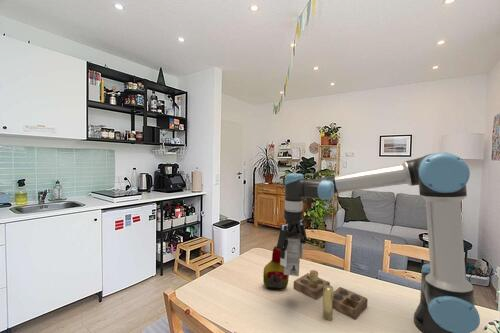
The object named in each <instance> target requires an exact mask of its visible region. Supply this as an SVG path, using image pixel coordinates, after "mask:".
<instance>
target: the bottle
mask: <svg viewBox="0 0 500 333" xmlns="http://www.w3.org/2000/svg"><path fill="white" fill-rule="evenodd" d="M276 247H277V245H276V246H274V247H273V248H272V249H273V250H272V256H271V260H270V261H269V262H268V263H267V264H266V265H265V266H264V267H263V275H262V276H263V284H264V286H265V287H266V288H267V289H269V290H276V291H282V290H285V289H286V288H287V287H288V285H289V277H290V275H284V266H282V265H280V250H278V249H277V248H276ZM279 247H280V246H279Z"/></svg>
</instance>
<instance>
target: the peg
mask: <svg viewBox="0 0 500 333" xmlns="http://www.w3.org/2000/svg"><path fill="white" fill-rule="evenodd" d="M333 292H334V287H333V286H332V285H330V286H329V285H324V286H323V295H322V304H323V305H322V318H323V319H324V321H328V322H331V321H332V320H333V318H334V317H333V313H334V312H333V310H334V309H333Z"/></svg>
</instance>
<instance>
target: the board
mask: <svg viewBox="0 0 500 333" xmlns="http://www.w3.org/2000/svg"><path fill="white" fill-rule="evenodd" d="M324 285H329V286H331V282H330V281H327V280H326V279H323V278H320V277H319V272H318V271H317V270H314V269H313V270H310V271H309V272H307V273H305V274H304V275H302V276H300V277H299V278H297V279H295V280H294V281H293V289H294V290H296V291H298V292H299V293H302V294H304V295H305V296H307V297H310V298H312V299H314V300H315V301H317V300H319V299H320V298H321V297H323V286H324Z"/></svg>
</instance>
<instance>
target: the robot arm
mask: <svg viewBox="0 0 500 333" xmlns="http://www.w3.org/2000/svg"><path fill="white" fill-rule="evenodd" d="M284 177H285V178H284V179H285V180H284V211H283V214H284V215H283V218H284V219H285V224H280V229H279V230H280V231H279V234H278V239H277V244H276V246H277V247H276V248H277V249H278V250H280V265H282V266H285V267H286V266H287V250H286V248H287V245H288V239H287V240H285V238H286V236H288V237H289V236H292V235H293V233H294V232H298V233H300V260H302V259H303V258H304V245H305V244H307V240H308V237H307V232H306V227H305V222H306V221H305V220H304V219H303V208H304V207H303V204H304V202H303V199H304V198H307V199H309V198H310V199H317V200H322V201H323V200H329V201H330V200H332V199H333V198H334V194H338V193H346V192H355V191H362V190H369V189H376V188H377V189H378V188H383V187H384V188H386V187H391V186H400V185H408V186H410V187H413V186H418V191H419V197H421V198H422V199H424V201H425V210H426V224H427V238H428V240H427V241H428V254H429V255H428V256H429V263H425V264H423V265H422V266H421V271H420V272H421V275H420V276H421V277H420V278H421V279H420V280H421V281H420V296H419V297H420V300H419V304H418V305H417V307H416V309H415V311H414V313H413V323H414V325H415V326H416V328H417V329H418V330H419V331H420V332H422V333H472V332H475V331H476V330H477V329H478V328H479V327H480V325H481V324H480V323H481V318H480V317H481V316H480V314H479V311H478V309H477V308H476V307H475V306H476V305H475V294H474V285H473V284H472V283H471V282H470V281H469V280H467V279H466V278H467V277H466V276H467V275H466V264H465V250H464V234H463V219H462V206H461V205H462V204H461V202H462V201H463V200H464V199H466V198H467V196H468V194H467V192H468V191H467V184H468V182H469V180H470V177H471V172H470V167H469V166H468V163H466V161H465V160H464V159H462V158H461V157H459V156H457V155H455V154H453V153H451V152H450V153H449V152H435V153H429V154H426V155H424V156H421V157H417V158H414V159H409V160H404V161H403V162H402V164H396V165H391V166H385V167H384V166H383V167H378V168H373V169H367V170H360V171H355V172H349V173H348V172H347V173H343V174H337V175H333V176H322V177H321V178H318V179H308V178H307V179H306V178H304V174H302V173H295V172H294V173H292V172H290V173H287V174H286V175H285V176H284ZM287 231H288V232H287ZM289 232H290V233H289ZM279 246H280V247H279Z"/></svg>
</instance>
